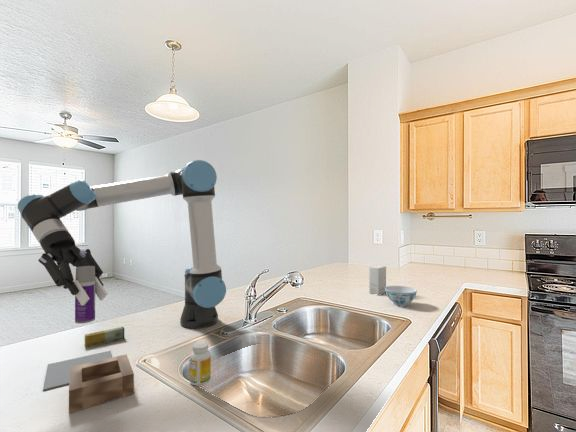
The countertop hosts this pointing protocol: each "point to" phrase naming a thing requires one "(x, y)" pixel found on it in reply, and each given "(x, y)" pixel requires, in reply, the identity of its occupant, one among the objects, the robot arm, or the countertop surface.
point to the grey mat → (68, 369)
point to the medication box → (104, 337)
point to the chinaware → (400, 294)
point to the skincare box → (377, 279)
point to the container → (88, 284)
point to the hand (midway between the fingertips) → (95, 299)
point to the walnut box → (100, 382)
